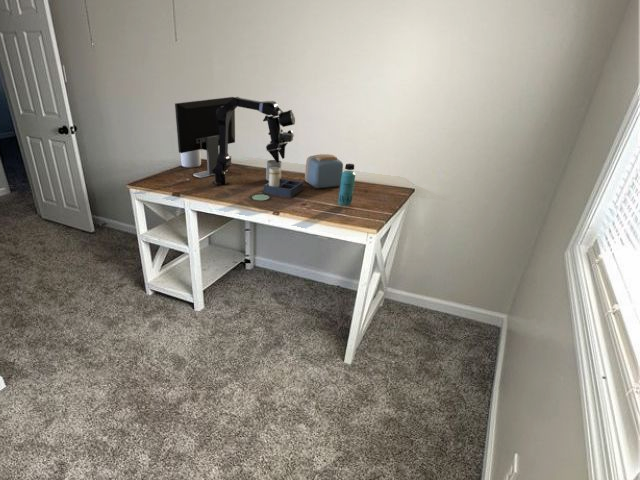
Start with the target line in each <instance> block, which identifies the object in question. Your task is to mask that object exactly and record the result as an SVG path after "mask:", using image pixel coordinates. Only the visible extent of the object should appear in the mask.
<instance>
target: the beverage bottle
mask: <svg viewBox="0 0 640 480" xmlns="http://www.w3.org/2000/svg"><path fill="white" fill-rule="evenodd" d="M344 169H345V170H343V173H342V177H341V184H340V186H339V191H338V198H337V203H338V205H341V206H346V207H347V206H350V205H351V204H352V201H353V196H354V190H355V189H354V188H355V181H356V176H357V175H356V173H355V172H354V170H355V164H354V163H345V166H344Z"/></svg>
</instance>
